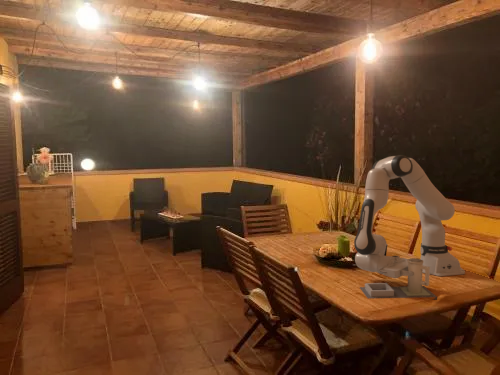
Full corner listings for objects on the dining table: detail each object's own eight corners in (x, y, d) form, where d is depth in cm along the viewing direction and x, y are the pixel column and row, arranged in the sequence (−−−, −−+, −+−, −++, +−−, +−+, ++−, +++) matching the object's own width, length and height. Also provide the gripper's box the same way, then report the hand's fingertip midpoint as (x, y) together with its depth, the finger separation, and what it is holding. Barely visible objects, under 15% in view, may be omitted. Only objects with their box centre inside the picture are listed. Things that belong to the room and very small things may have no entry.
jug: (404, 291, 190) (404, 260, 188) (410, 287, 195) (411, 257, 193) (424, 296, 184) (425, 264, 182) (431, 292, 188) (432, 261, 187)
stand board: (424, 288, 197) (424, 280, 197) (437, 299, 183) (437, 291, 183) (359, 289, 197) (359, 282, 197) (367, 301, 183) (367, 292, 183)
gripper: (377, 264, 191) (406, 270, 181) (398, 254, 205) (426, 260, 195) (376, 277, 191) (406, 284, 181) (397, 267, 206) (426, 273, 196)
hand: (417, 271), depth 188 cm, fingers open, 7 cm apart
